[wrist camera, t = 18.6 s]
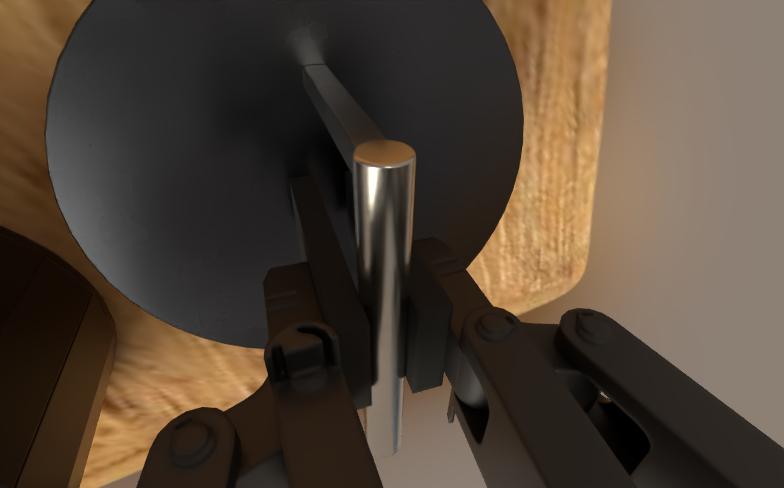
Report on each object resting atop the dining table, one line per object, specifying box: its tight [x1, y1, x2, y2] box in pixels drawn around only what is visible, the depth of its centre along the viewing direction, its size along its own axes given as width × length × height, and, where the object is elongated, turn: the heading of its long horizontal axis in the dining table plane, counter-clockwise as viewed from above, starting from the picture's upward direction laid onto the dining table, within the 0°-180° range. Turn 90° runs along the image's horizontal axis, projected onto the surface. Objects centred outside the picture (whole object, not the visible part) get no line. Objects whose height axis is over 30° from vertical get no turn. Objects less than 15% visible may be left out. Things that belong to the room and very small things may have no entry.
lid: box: [44, 0, 524, 458], centre depth 12 cm, size 16×16×8 cm
